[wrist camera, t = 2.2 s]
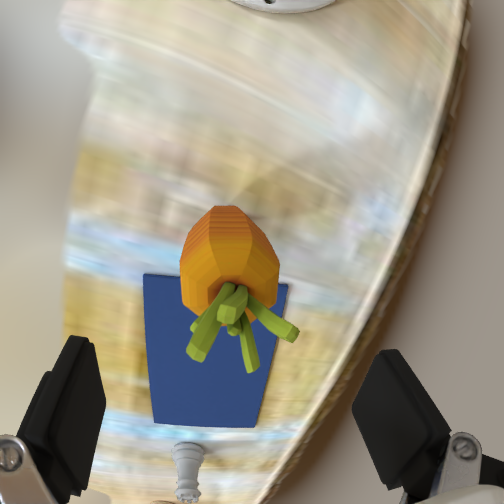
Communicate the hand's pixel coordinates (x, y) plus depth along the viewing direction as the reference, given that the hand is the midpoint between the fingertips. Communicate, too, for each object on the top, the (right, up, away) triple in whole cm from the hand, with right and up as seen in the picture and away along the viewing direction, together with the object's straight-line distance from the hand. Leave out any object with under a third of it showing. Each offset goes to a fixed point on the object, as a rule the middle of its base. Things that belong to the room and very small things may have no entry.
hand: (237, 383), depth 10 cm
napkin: (-4, -7, +21) cm, 22 cm away
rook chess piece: (-8, -22, +27) cm, 36 cm away
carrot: (-2, +7, +15) cm, 16 cm away
